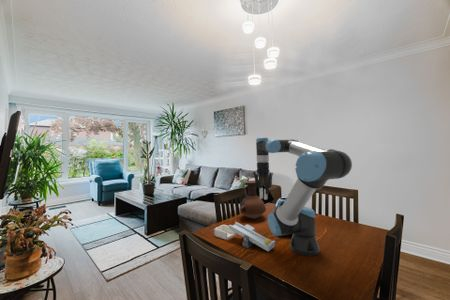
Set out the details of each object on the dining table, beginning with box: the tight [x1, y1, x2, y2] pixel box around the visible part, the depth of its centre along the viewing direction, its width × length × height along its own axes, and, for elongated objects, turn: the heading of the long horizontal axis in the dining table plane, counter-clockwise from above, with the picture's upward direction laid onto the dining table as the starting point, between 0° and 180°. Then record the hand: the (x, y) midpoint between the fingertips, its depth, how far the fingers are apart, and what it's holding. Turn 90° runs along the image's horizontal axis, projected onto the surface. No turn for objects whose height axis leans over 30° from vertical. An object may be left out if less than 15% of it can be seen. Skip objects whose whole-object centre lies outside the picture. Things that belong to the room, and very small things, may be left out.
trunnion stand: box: [242, 230, 258, 249], centre depth 120 cm, size 4×11×6 cm, turn 139°
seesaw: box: [228, 221, 276, 252], centre depth 122 cm, size 28×13×3 cm, turn 49°
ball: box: [265, 238, 272, 246], centre depth 112 cm, size 4×4×4 cm
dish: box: [213, 224, 237, 241], centre depth 133 cm, size 11×10×4 cm
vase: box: [239, 180, 267, 220], centre depth 162 cm, size 25×20×30 cm
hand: (263, 198), depth 128 cm, fingers open, 3 cm apart
